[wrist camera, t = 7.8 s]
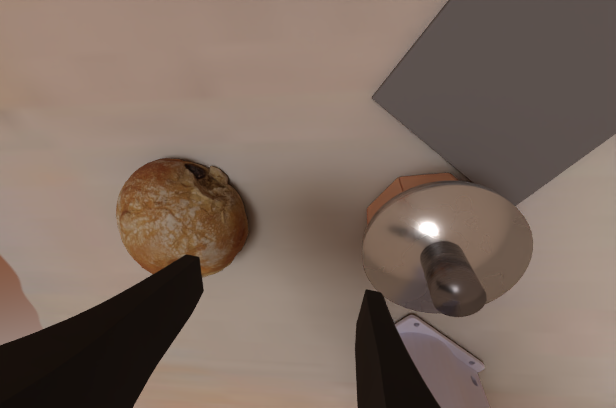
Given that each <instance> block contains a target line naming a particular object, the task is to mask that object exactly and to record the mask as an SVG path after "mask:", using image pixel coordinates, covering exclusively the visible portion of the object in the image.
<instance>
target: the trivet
mask: <svg viewBox="0 0 616 408" xmlns="http://www.w3.org/2000/svg"><path fill="white" fill-rule="evenodd" d="M372 99H373V100H375V101H376V102H377V103H378V104H379V105H381V106H382V107H383V108H384V109H385V110H387V111H388V112H389V113H390V114H391V115H393V116H394V117H395V118H396V119H397V120H399V121H400V122H401V123H402V124H403V125H405V126H406V127H407V128H408V129H409V130H411V131H412V132H413V133H414V134H415V135H417V136H418V137H419V138H420V139H421V140H423V141H424V142H425V143H426V144H427V145H429V146H430V147H431V148H432V149H433V150H435V151H436V152H437V153H438V154H439V155H441V156H442V157H443V158H444V159H445V160H447V161H448V162H449V163H450V164H451V165H453V166H454V167H455V168H456V169H457V170H459V171H460V172H461V173H462V174H463V175H465V176H466V177H467V178H468V179H469V180H471V181H472V182H473V183H475V184H479V185H482V186H485V187H487V188H490V189H492V190H494V191H496V192H497V193H499V194H501V195H502V196H503V197H505V198H506V199H507V200H508V201H510V202H511V203H512V204H513V205H514V206H516V205H517V204H519V203H520V202H522V201H523V200H524V199H526V198H527V197H529V196H530V195H531V194H533V193H534V192H535V191H537V190H538V189H540V188H541V187H542V186H544V185H545V184H547V183H548V182H549V181H551V180H552V179H553V178H555V177H556V176H558V175H559V174H560V173H562V172H563V171H565V170H566V169H567V168H569V167H570V166H571V165H573V164H574V163H576V162H577V161H578V160H580V159H581V158H583V157H584V156H585V155H587V154H588V153H589V152H591V151H592V150H594V149H595V148H596V147H598V146H599V145H601V144H602V143H603V142H605V141H606V140H607V139H609V138H610V137H612V136H613V135H614V134H616V0H449V1H448V2H447V3H446V4H445V6H444V7H443V8H442V9H441V11H440V12H439V13H438V14H437V16H436V17H435V18H434V19H433V21H432V22H431V23H430V24H429V26H428V27H427V28H426V29H425V31H424V32H423V33H422V35H421V36H420V37H419V38H418V40H417V41H416V42H415V43H414V45H413V46H412V47H411V48H410V50H409V51H408V52H407V53H406V55H405V56H404V57H403V58H402V60H401V61H400V62H399V63H398V65H397V66H396V67H395V68H394V70H393V71H392V72H391V73H390V75H389V76H388V77H387V78H386V80H385V81H384V82H383V83H382V85H381V86H380V87H379V89H378V90H377V91H376V92H375V94H374V95H373V96H372Z"/></svg>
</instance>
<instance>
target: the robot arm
mask: <svg viewBox="0 0 616 408" xmlns="http://www.w3.org/2000/svg"><path fill="white" fill-rule="evenodd" d="M203 291H204V290H203V282H202V274H201V265H200V257H198V256H192V255H187V254H186V255H184V256H183V257H181V258H179V259H178V260H176V261H174V262H173V263H171V264H169V265H168V266H166V267H164V268H163V269H161V270H160V271H158V272H156V273H155V274H153V275H151V276H150V277H148V278H146V279H144V280H143V281H141V282H139V283H138V284H136V285H134V286H132V287H131V288H129V289H127V290H125V291H123V292H122V293H120V294H118V295H116V296H114V297H112V298H111V299H109V300H107V301H105V302H103V303H101V304H99V305H97V306H95V307H93V308H91V309H89V310H87V311H84V312H82V313H80V314H78V315H76V316H74V317H71V318H69V319H67V320H64V321H62V322H60V323H57V324H55V325H52V326H50V327H48V328H45V329H43V330H40V331H38V332H35V333H33V334H30V335H28V336H25V337H22V338H20V339H17V340H14V341H11V342H9V343H6V344H3V345H0V408H133V406H134V404H135V402H136V401H137V399H138V397H139V395H140V393H141V392H142V390H143V388H144V386H145V384H146V383H147V381H148V379H149V377H150V376H151V374H152V372H153V371H154V369H155V367H156V366H157V364H158V363H159V361H160V360H161V358H162V357H163V355H164V354H165V352H166V351H167V350H168V348H169V347H170V345H171V344H172V342H173V341H174V339H175V338H176V336H177V335H178V334H179V332H180V331H181V329H182V328H183V326H184V325H185V323H186V322H187V320H188V319H189V317H190V316H191V314H192V313H193V311H194V309H195V307H196V305H197V303H198V301H199V299H200V297H201V295H202V293H203ZM355 358H356V380H357V402H358V408H490V405H489V402H488V400H487V397H486V394H485V392H484V389H483V386H482V384H481V381H480V379H479V376H478V372H480V371H482V370H484V369H485V366H484V364H483V362H481V361H480V360H478V359H477V358H475V357H474V356H473V355H471V354H470V353H468V352H467V351H465V350H464V349H463V348H461V347H460V346H458V345H457V344H455V343H454V342H453V341H451V340H450V339H448V338H447V337H445V336H444V335H442V334H441V333H440V332H438V331H437V330H435V329H434V328H432V327H431V326H430V325H428V324H427V323H425V322H424V321H422V320H421V319H420V318H418V317H417V316H415V315H409V316H407V317H405V318H404V319H402V320H401V321H399V322H398V323H396V324H394V322H393V319H392V317H391V315H390V312H389V310H388V307H387V305H386V302H385V299H384V297H383V294H382V293H381V292H376V291H371V290H366V291H365V294H364V298H363V302H362V305H361V309H360V313H359V316H358V320H357V325H356V341H355Z"/></svg>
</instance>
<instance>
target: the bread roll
mask: <svg viewBox="0 0 616 408" xmlns="http://www.w3.org/2000/svg"><path fill="white" fill-rule="evenodd" d="M116 217H117V225H118V229H119V232H120V235H121V239H122V242H123V243H124V246H125V247H126V249H127V251H128V252H129V254H130V255H131V256H132V257H133V259H134V260H136V261H137V262H138V263H139V264H140V265H141V266H142V268H144V269H146V270H147V271H149V272H150V273H152V274H155V273H156V272H158V271H160V270H161V269H163V268H164V267H166V266H168V265H169V264H171V263H173V262H174V261H176V260H178V259H179V258H181V257H183V256H184V255H186V254H187V255H192V256H198V257H200V265H201V274H202V277H207V276H208V275H212V274H215V273H217V272H219V271H222V270H223V268H225V267H227V266H229V265H230V264H231V262H232V261H233V259H234V258H235V256H236V255H237V253H238V252H239V251H241V250H242V247H243V246H244V244H245V241H246V239H247V235H248V232H249V231H248V222H247V219H248V218H247V216H246V213H245V209H244V205H243V202H242V200H241V197H240V195H239V194H238V193H237V191H236V190H235V189H234V188H233V187H232V186H230V185H229V184H228V176H227V175H226V174H225V173H223V172H222V171H221V170H220V169H218V168H215V167H213V166H210V168H206V167H204V166H202V165H199V164H196V163H193V162H189V161H183V160H181V159H168V158H163V159H159V160H155V161H153V162H150V163H147V164H145V165H144V166H142V167H140V168H139V169H138V170H137V171H135V172H134V173H133V174H132V175H131V176H130V178H129V179H128V180H127V181H126V182H125V184H124V186H123V188H122V189H121V191H120V194H119V197H118V201H117V209H116Z"/></svg>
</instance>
